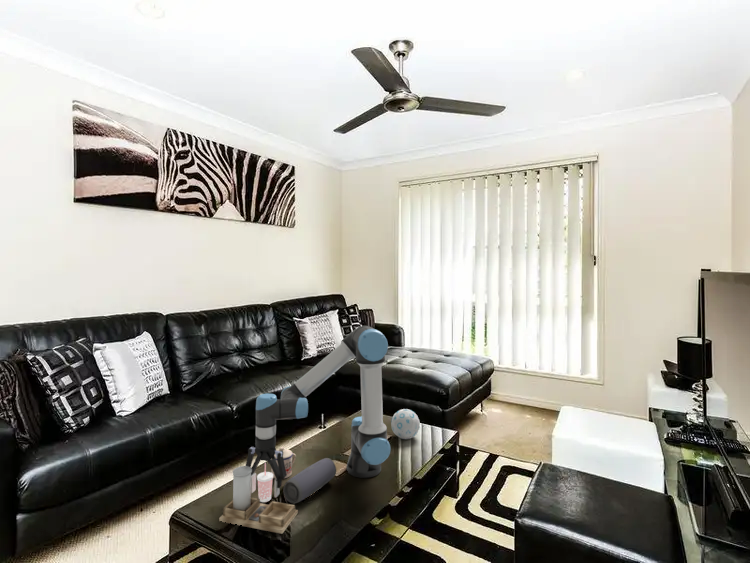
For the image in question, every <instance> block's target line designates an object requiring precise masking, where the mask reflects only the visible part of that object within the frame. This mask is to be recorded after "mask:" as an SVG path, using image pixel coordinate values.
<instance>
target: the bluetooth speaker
mask: <svg viewBox="0 0 750 563" xmlns="http://www.w3.org/2000/svg"><path fill="white" fill-rule="evenodd" d="M336 474H337V467H336V464H335V463H334V461H333V459H332V458H328V457H325V458H322V459H320V460H318V461H316V462H315V463H312V464H311V465H308V466H307V467H306V468H304V469H303V470H301V471H300V472H298V473H297V474H296V475H294V476H292V477H290V478H289V479H288V480H287V481H286V482H285V483H284V486H283V489H282V491H283V496H284V498H285V500H286V501H287V502H288V503H289V504H290V503H291V505H296V504H299V503H300V502H302V501H303V500H306V499H305V498H307V497H309V496H310V495H311V494H313V493H314V492H316V491H317V490H319V489H320V490H321V489H322V488H323V487H324V486H325V485H326V484H328V482H330V481H331V480H333V478H334V477H335V476H336ZM320 490H319V491H320ZM317 492H318V491H317ZM317 492H316V493H317ZM313 495H314V494H313ZM310 497H311V496H310ZM310 497H309V498H310ZM307 499H308V498H307Z"/></svg>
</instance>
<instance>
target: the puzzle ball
mask: <svg viewBox="0 0 750 563" xmlns="http://www.w3.org/2000/svg"><path fill="white" fill-rule="evenodd" d="M390 422H391V423H390V425H391V426H390V427H391V431H392V432H393V434H394V435H396V436H397V437H398V438H400V439H401V440H410V439H412V438H414V437H415V436H416V435H417V434H418V432H419V430H420V427H421V426H420V424H421V423H420V419H419V417H418V415H417V414H416V412H415V411H413V410H412V409H408V408H403V409H402V408H401V409H399V410H397V411H396V412H395V413H394V414H393V416H392V417H391V421H390Z"/></svg>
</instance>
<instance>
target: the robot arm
mask: <svg viewBox="0 0 750 563" xmlns="http://www.w3.org/2000/svg"><path fill="white" fill-rule="evenodd" d="M388 347H389V344H388V339H387V338H386V336H385V334H383V332H381V331H380V330H378V329H375V328H373V327H372V326H369V325H360V326H358V327H356V328H355V329H354V330H352V331H351V332H350V333H348V334H347V336H345V337H344V338H342V339H341V340H340V345H338V346H337V347H336V348H334V349H333V350H332V351H331V352H329V354H328V355H326V356H325V357H323V359H321V361H318V363H317V364H316V365H314V366H313V367H312V368H311V369H309V371H307V372H306V373H305V374H303V375H302V376H301V377H300V378H299V379H298V380H296V381H295V382H294V383H293V384H292V385H290V386H286V387H284V388H283V389H282V391H281V393H280V398H279V399H278V398H277V395H276V394H274V393H270V392H269V393H262V394H259V395H258V396H257V398H256V401H255V440H254V441H255V443H254V444H255V447H254V446H251V447H249V448H248V449H247V458H246V462H245V466H249V467H251V468H252V472H251V494H253V493H254V492H255V491H257V490H256V489H257V472H256V469H257V468H258V466H259V464H260V463H261V461H265V462H268V464H269V465H270V469H271V468H272V470H273V472H274V474H275V477H276V479H275V478H274V485H273V486H274V487H273V488H274V489H273V490H274V494H273V498H277V497H279V495H280V489H281V487H282V485H283V484H282V483H283V481H282V480H284V478H285V477H286V476H287V474H286V469H285V464H284V460H283V451H276V450H277V449H276V446H277V444H276V443H277V436H276V434H277V421H278V420H293V419H297V420H299V419H304V418H307V417H308V413H309V403H308V402H309V401H308V399H307V396H309V395H310V394H312V392H314V391H315V390H316V389H317V388H318V387H320V386H321V385H322V384H323V383H324V382H325V381H326V380H328V379H329V378H330V377H332V375H333V374H335V373H336V372H337V371H338V370H339V369H340V368H341V367H343V366H344V365H345V364H347V363H348V362H349V361H350V360H351V359H356V360H355V361H356V362H355V363H356V364H357V365H358V366H359V367H360V368H359V369H360V397H361V400H360V401H361V403H360V404H361V416H356V417H354V418H353V419H352V420H351V425H350V427H351V429H350V430H351V434H350V435H351V436H350V438H351V441H350V442H351V443H350V454H349V457H348V459H347V462H346V471H348V472H347V473H348V474H349V475H350V476H352V477H356V478H359V479H360V478H361V479H363V478H364V479H369V478H372V477H373V478H374V477H376V476H377V475H379V474H380V473H381V471H382V463H384V462H385V461H386V460H387V459H388V458H389V456H390V454H391V450H392V449H391V444H390V442H389V441H388V429H387V428H388V427H387V425H386V424H385V423H384V421H383V420H384V417H383V416H384V415H383V414H384V412H383V408H384V407H383V379H382V378H383V375H382V366H383V365H384V363H386V354H387V352H388ZM275 454H276V458H277V462H278V465H277V462H276V458H275V456H274V455H275ZM255 455H257V456H256V458H255V460H254V456H255ZM271 459H272V460H271ZM253 460H254V462H253ZM285 479H286V478H285Z"/></svg>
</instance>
